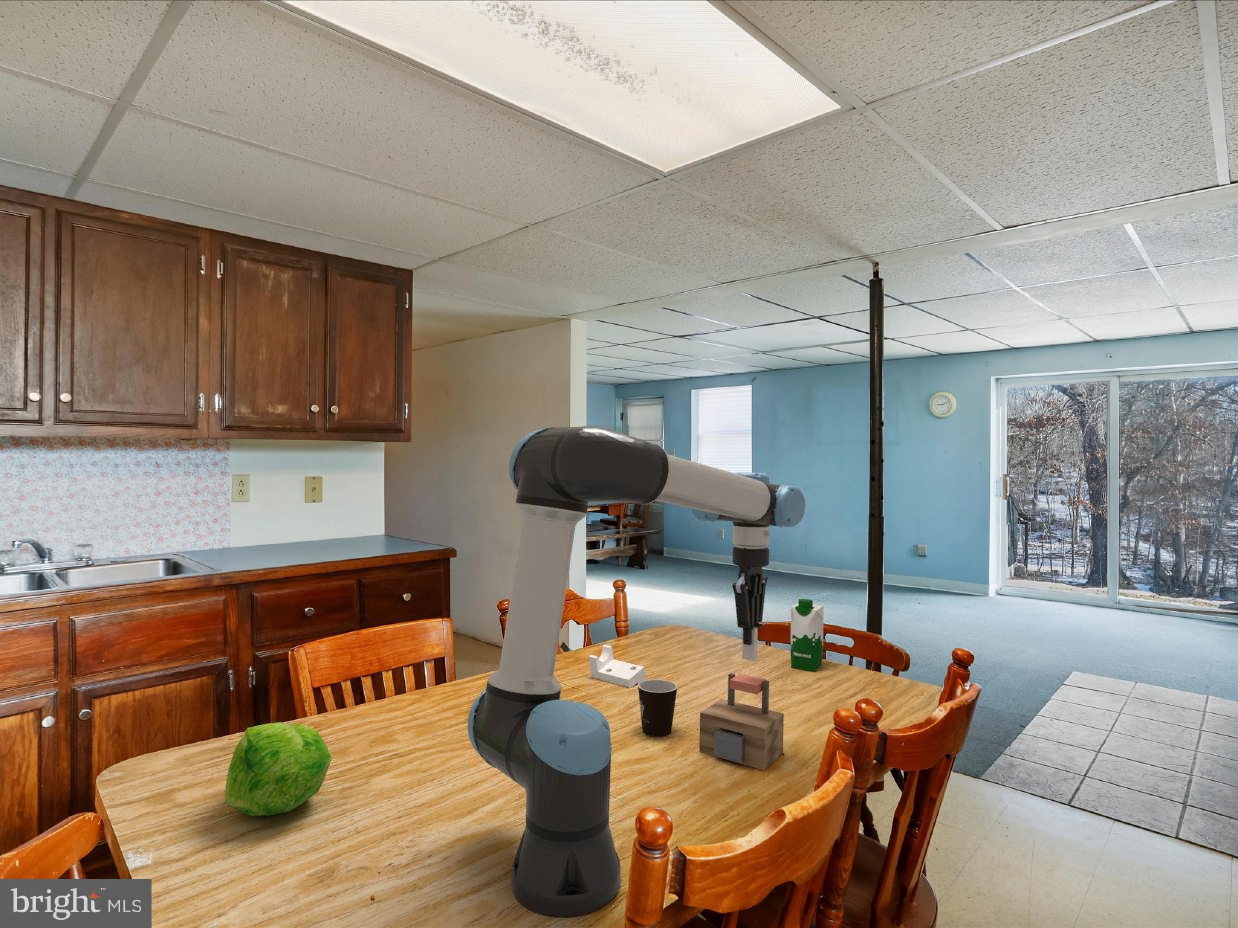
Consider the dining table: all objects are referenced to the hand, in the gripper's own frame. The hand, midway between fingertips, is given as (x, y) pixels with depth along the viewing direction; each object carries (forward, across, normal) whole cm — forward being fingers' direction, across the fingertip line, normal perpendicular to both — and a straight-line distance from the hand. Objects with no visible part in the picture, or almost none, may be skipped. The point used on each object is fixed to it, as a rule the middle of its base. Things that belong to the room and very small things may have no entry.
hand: (749, 658), depth 139 cm
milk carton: (+19, +62, +9) cm, 66 cm away
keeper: (+6, 0, 0) cm, 6 cm away
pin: (+18, -2, 0) cm, 18 cm away
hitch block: (+18, -4, 0) cm, 19 cm away
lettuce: (+18, -70, +54) cm, 91 cm away
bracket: (+19, +18, +46) cm, 53 cm away
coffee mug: (+19, -4, +20) cm, 28 cm away
